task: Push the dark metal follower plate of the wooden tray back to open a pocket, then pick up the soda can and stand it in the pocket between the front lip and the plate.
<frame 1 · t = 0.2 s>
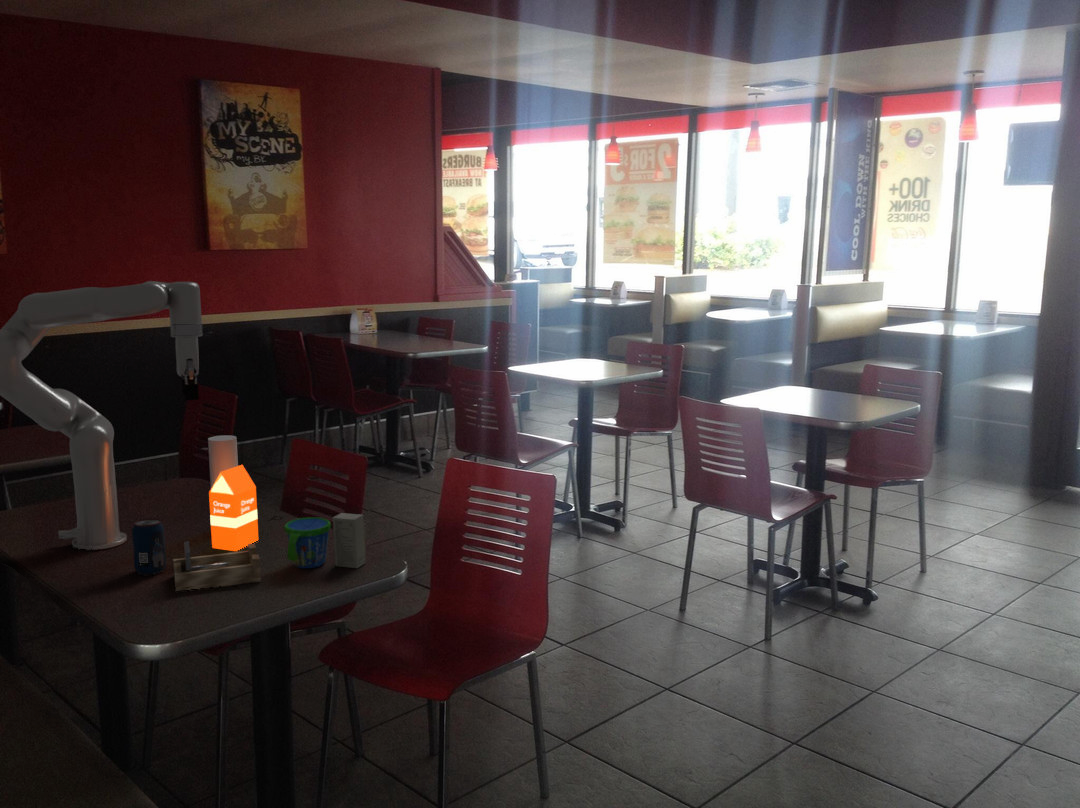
hand: (190, 396, 239), 37 cm above the table, tool pointing down, fingers open, 9 cm apart
soda can: (151, 571, 217), on the table
cylindrical container: (227, 530, 248), on the table
follower: (206, 559, 210), point 5 cm above the table, slide at 0.0 cm
skincare box: (350, 565, 221), on the table
wooden tray: (217, 578, 212), on the table
snack cup: (309, 565, 222), on the table
orange juice: (235, 545, 236), on the table
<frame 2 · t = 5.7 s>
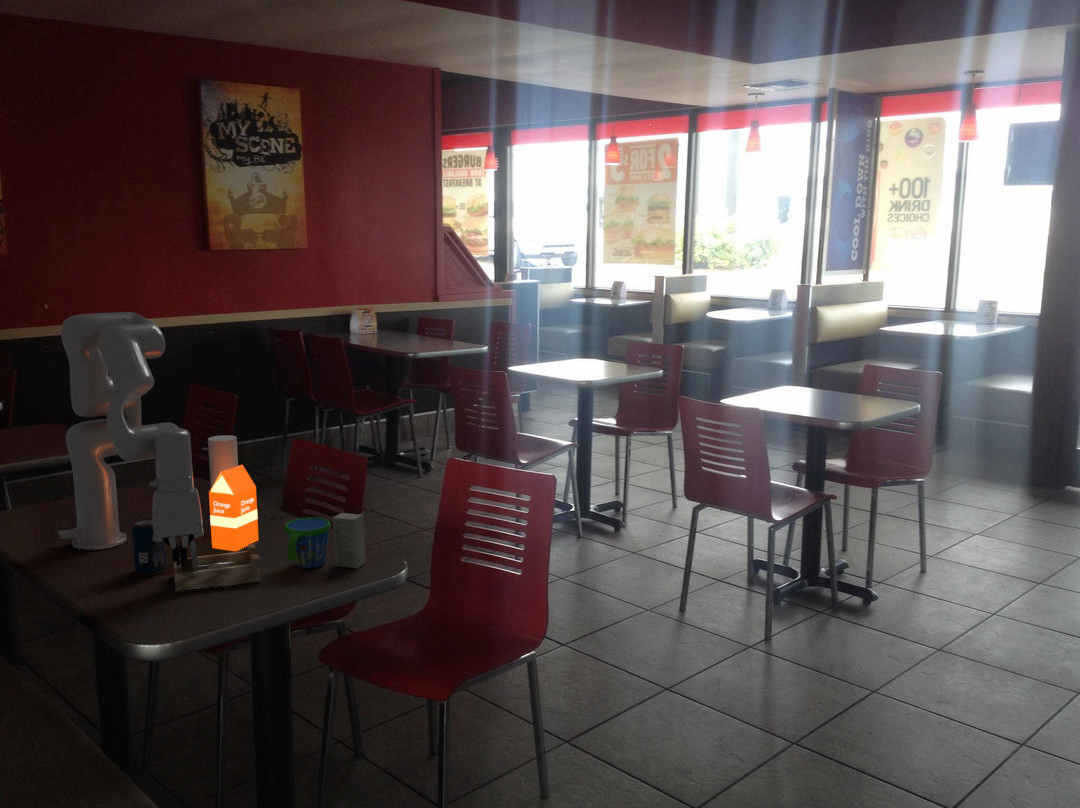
hand: (180, 563, 208), 5 cm above the table, tool pointing down, fingers closed
follower: (212, 558, 211), point 5 cm above the table, slide at 1.3 cm, touching gripper
everything else where it was.
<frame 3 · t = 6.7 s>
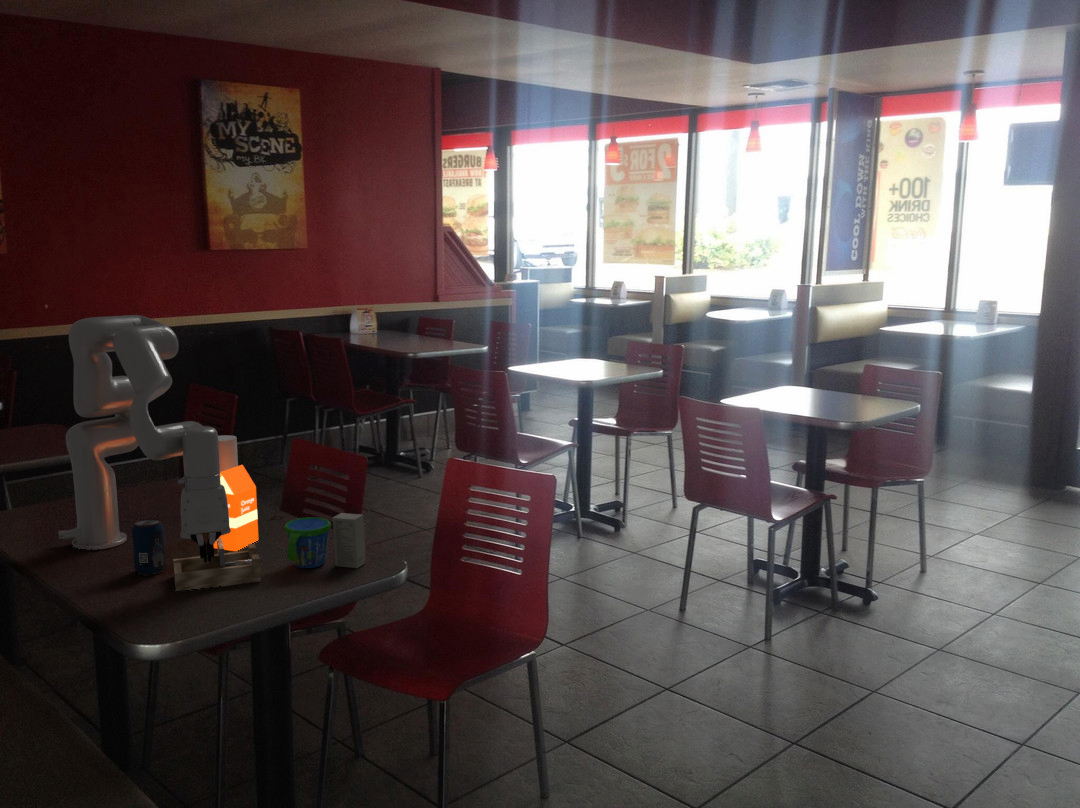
hand: (207, 560, 210), 5 cm above the table, tool pointing down, fingers closed
follower: (239, 555, 213), point 5 cm above the table, slide at 7.1 cm, touching gripper
everything else where it was.
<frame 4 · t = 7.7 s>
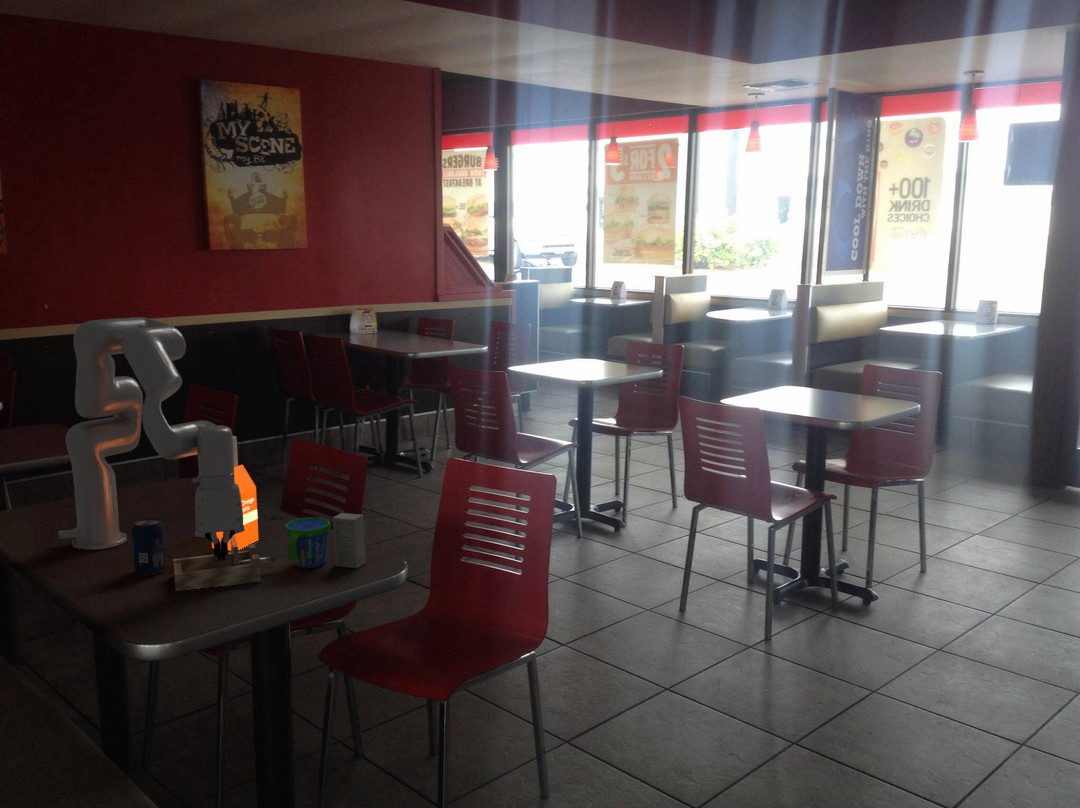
hand: (221, 558, 211), 5 cm above the table, tool pointing down, fingers closed
follower: (253, 554, 214), point 5 cm above the table, slide at 10.1 cm, touching gripper
everything else where it was.
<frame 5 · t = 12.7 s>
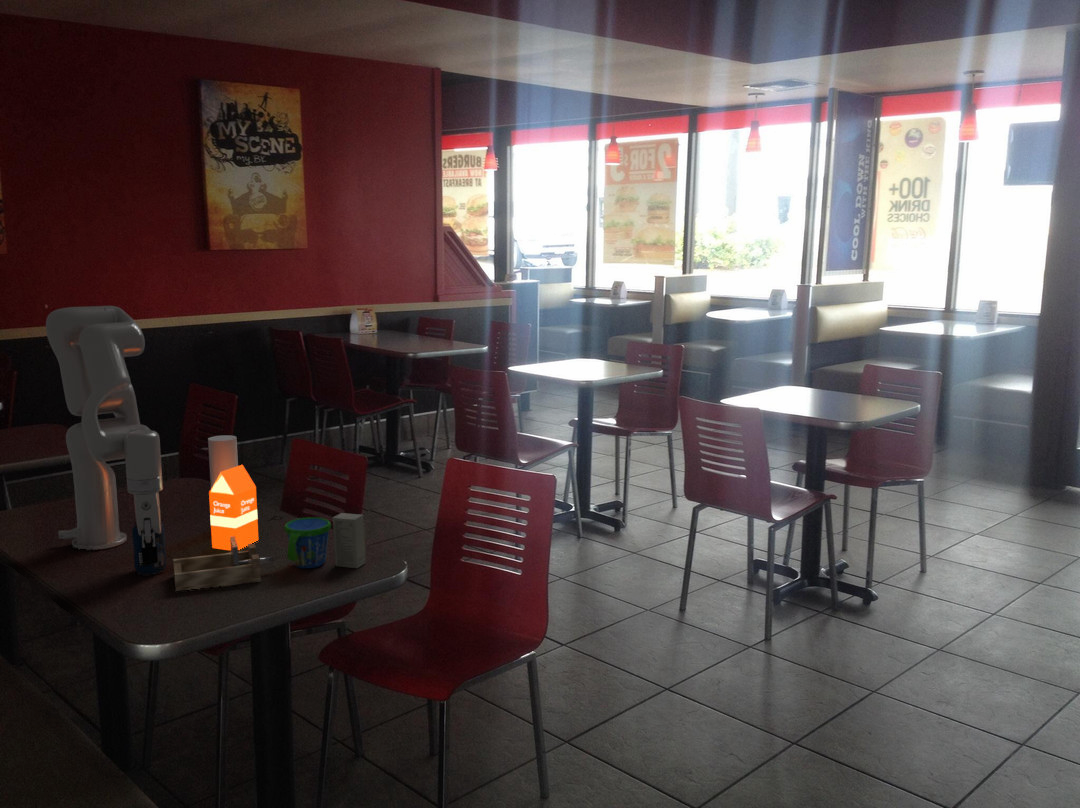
hand: (150, 557, 216), 3 cm above the table, tool pointing down, fingers closed on soda can, 7 cm apart
soda can: (151, 571, 217), on the table, touching gripper
follower: (252, 554, 214), point 5 cm above the table, slide at 10.0 cm
everything else where it was.
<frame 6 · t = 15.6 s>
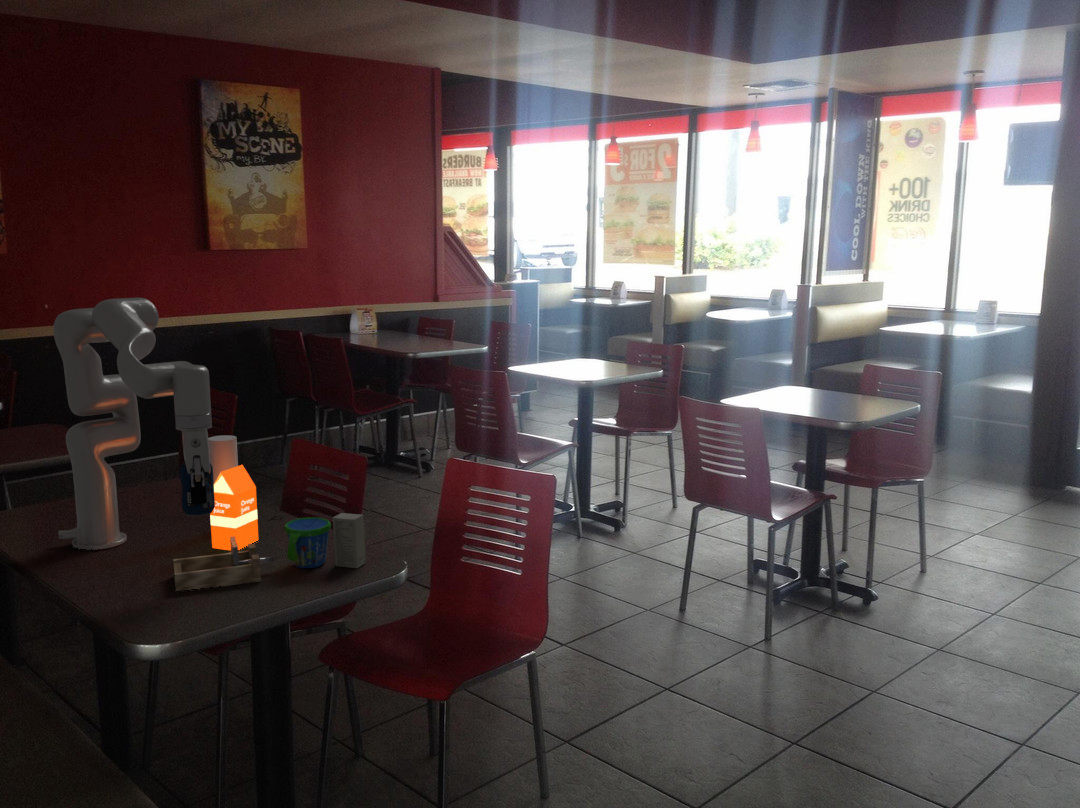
hand: (198, 498, 207), 19 cm above the table, tool pointing down, fingers closed on soda can, 6 cm apart
soda can: (199, 513, 208), point 16 cm above the table, touching gripper
everything else where it was.
when the fingers open (6 cm above the table, at t = 18.5 s): soda can drops 1 cm, resting on wooden tray.
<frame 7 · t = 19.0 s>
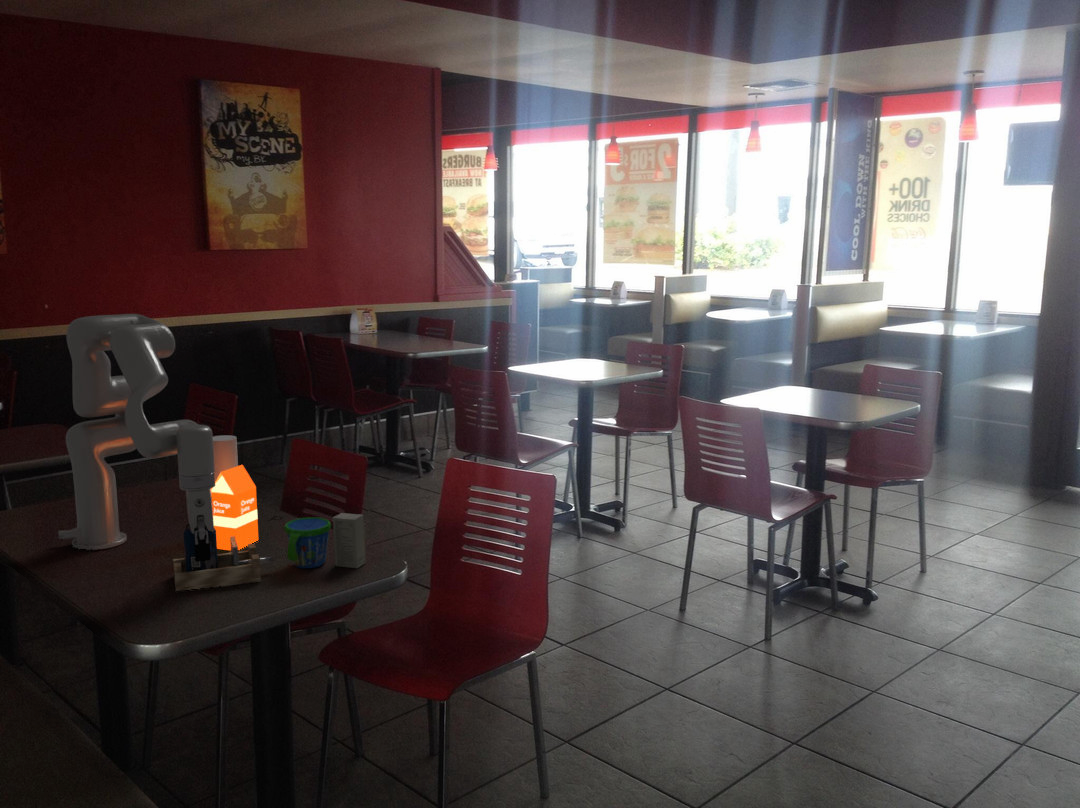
hand: (201, 553, 210), 6 cm above the table, tool pointing down, fingers open, 9 cm apart
soda can: (202, 576, 211), point 1 cm above the table, touching wooden tray
everything else where it was.
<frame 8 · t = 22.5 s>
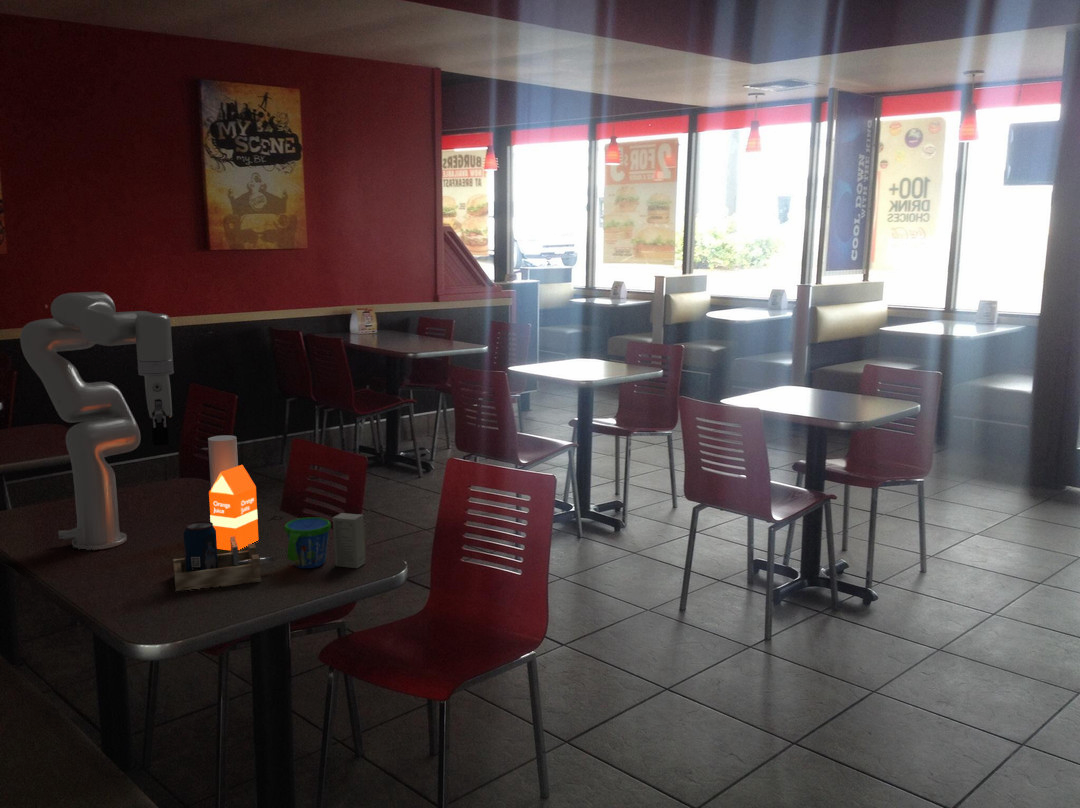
hand: (160, 440, 216), 30 cm above the table, tool pointing down, fingers open, 9 cm apart
nothing on the table moved.
at the end: follower slide at 10.0 cm; soda can inside the target area on the wooden tray (1.2 cm from its centre), point 0.8 cm above the wooden tray's base; soda can tilted 0° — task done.
